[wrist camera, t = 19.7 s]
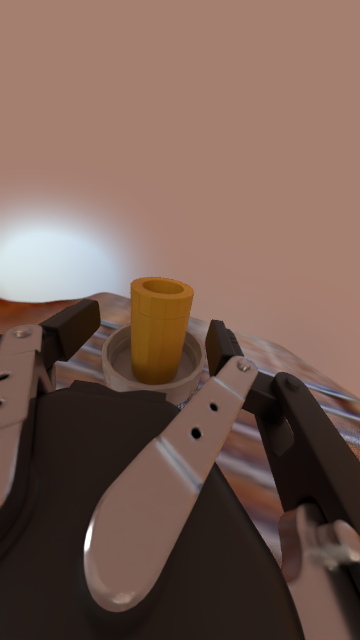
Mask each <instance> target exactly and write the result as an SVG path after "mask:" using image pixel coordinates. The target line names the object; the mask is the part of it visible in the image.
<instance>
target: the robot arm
mask: <svg viewBox="0 0 360 640" xmlns="http://www.w3.org/2000/svg"><path fill="white" fill-rule="evenodd" d="M100 323H101V319H100V311H99V304H98V302H97V301H96V300H89V299H83V300H82V301H80V302H78V303H77V304H75V305H72V306H69V307H67V308H65V309H63V310H62V311H61V312H59V313H57V314H56V315H54V316H52V317H50V318H49V319H47V320H45V321H44V322H42V323H41V324H39V325H34V324H28V325H21V326H17V327H14V328H11V329H9V330H7V331H6V332H5V333H4V334H1V335H0V640H360V462H359V460H358V459H357V457H356V456H355V454H354V453H353V452H352V450H351V449H350V447H349V446H348V445H347V443H346V442H345V440H344V439H343V438H342V436H341V435H340V433H339V432H338V430H337V429H336V428H335V426H334V425H333V423H332V422H331V421H330V419H329V418H328V416H327V415H326V414H325V412H324V411H323V409H322V408H321V406H320V405H319V404H318V402H317V401H316V399H315V398H314V397H313V395H312V394H311V392H310V391H309V390H308V388H307V387H306V385H305V384H304V383H303V382H302V381H301V380H299V379H298V378H296V377H295V376H293V375H291V374H288V373H285V372H279V373H277V374H276V375H275V377H271V376H269V375H266V374H264V373H261V372H259V371H258V368H257V366H256V365H255V364H254V363H253V362H252V361H251V360H249V359H247V358H245V357H244V355H243V353H242V350H241V348H240V346H239V344H238V342H237V340H236V337H235V335H234V333H233V332H232V331H231V330H230V329H226V328H225V325H224V323H223V321H219V320H211V323H210V326H209V329H208V333H207V336H206V341H205V347H206V353H207V360H208V367H209V373H210V378H209V380H208V381H207V382H206V383H205V384H204V385H203V386H202V387H201V389H200V390H199V391H198V392H197V393H196V394H195V395H194V397H193V398H192V399H191V400H190V401H189V402H188V403H187V405H186V406H185V407H184V408H183V409H182V410H180V409H179V408H178V407H177V406H175V405H174V404H172V403H170V402H168V401H166V394H167V393H163V392H156V391H149V390H138V391H127V392H117V391H115V390H112V389H110V388H108V387H105V386H103V385H101V384H98V383H92V382H85V381H78V380H75V381H74V382H73V383H72V384H71V386H70V387H69V388H63V389H59V390H56V367H55V364H54V363H55V362H56V361H64V362H67V361H68V360H69V359H70V358H71V357H72V356H73V355H74V354H75V353H76V352H77V351H78V350H79V349H80V348H81V347H82V346H83V344H84V343H85V342H86V341H87V340H88V339H89V338H90V337H91V336H92V335H93V334H94V333H95V332H96V331H97V330H98V328H99V327H100ZM241 409H243V410H246V411H248V412H250V413H252V414H254V416H255V419H256V422H257V425H258V429H259V432H260V435H261V438H262V442H263V445H264V448H265V451H266V455H267V458H268V461H269V465H270V468H271V471H272V474H273V478H274V481H275V484H276V487H277V491H278V494H279V497H280V500H281V504H282V507H283V510H284V513H283V515H282V516H281V518H280V521H279V538H280V543H281V551H282V566H281V569H280V567H279V565H278V563H277V562H276V560H275V558H274V556H273V554H272V553H271V551H270V549H269V548H268V546H267V545H266V543H265V541H264V540H263V538H262V537H261V535H260V533H259V532H258V530H257V528H256V527H255V525H254V524H253V522H252V520H251V519H250V517H249V516H248V514H247V512H246V511H245V509H244V508H243V506H242V504H241V503H240V501H239V499H238V498H237V496H236V495H235V493H234V491H233V490H232V488H231V487H230V485H229V483H228V482H227V480H226V478H225V477H224V475H223V474H222V472H221V470H220V469H219V467H218V466H217V464H216V462H215V460H216V458H217V456H218V454H219V452H220V450H221V448H222V446H223V444H224V442H225V440H226V438H227V436H228V434H229V432H230V430H231V428H232V426H233V424H234V422H235V420H236V418H237V416H238V414H239V412H240V410H241ZM286 420H288V423H289V425H290V427H291V429H292V431H293V433H292V431H291V429H290V427H289V425H288V423H287V421H286ZM293 434H294V435H293Z"/></svg>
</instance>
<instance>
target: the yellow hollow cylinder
mask: <svg viewBox="0 0 360 640" xmlns="http://www.w3.org/2000/svg"><path fill="white" fill-rule="evenodd" d="M193 295H194V291H193V289H192V288H191V287H190V286H189V285H187V284H185V283H182V282H180V281H176V280H173V279H167V278H161V277H147V278H139V279H136V280H134V281H133V282H132V283H131V365H132V373H133V375H134V377H135V378H136V379H137V380H138V381H140V382H141V383H143V384H147V385H163V384H166V383H168V382H170V381H171V380H172V379H173V378H174V377H175V376H176V374H177V371H178V368H179V363H180V358H181V354H182V349H183V344H184V339H185V334H186V329H187V325H188V320H189V315H190V310H191V305H192V300H193Z"/></svg>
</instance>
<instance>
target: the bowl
mask: <svg viewBox="0 0 360 640" xmlns="http://www.w3.org/2000/svg"><path fill="white" fill-rule="evenodd" d="M205 359H206V353H205V350H204V346H203V344H202V342H201V341H200V340H199V339H198V337H197V336H196V335H195V334H194V333H192V332H191V331H189V330H188V329H186V334H185V339H184V344H183V349H182V354H181V358H180V363H179V368H178V371H177V374H176V376H175V377H174V378H173V379H172V380H171V381H170V382H168V383H166V384H163V385H147V384H143V383H141V382H140V381H138V380H137V379H136V378H135V377H134V375H133V373H132V365H131V323H130V324H127V325H125V326H122V327H120V328H118V329H117V330H116V331H114V332H113V333H112V334H110V335H109V336H108V338H107V340H106V341H105V343H104V345H103V346H102V366H103V373H104V380H105V384H106V386H107V387H108V388H110V389H112V390H115V391H117V392H127V391H138V390H149V391H156V392H163V393H167V394H166V401H168V402H170V403H172V404H174V405H175V406H177V405H179V404H181V403H183V402H185V401H186V400H188V398H189V397H190V396H191V395H192V393H193V392H194V391H195V390H196V389H197V386H198V383H199V380H200V376H201V373H202V370H203V367H204V363H205Z"/></svg>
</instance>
